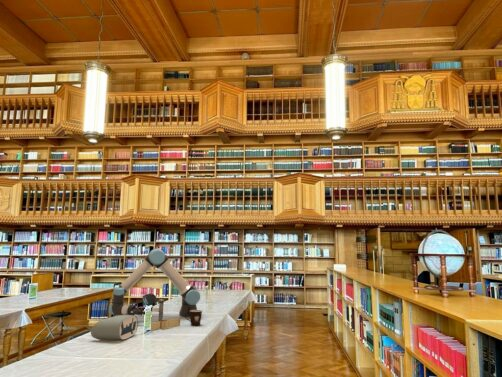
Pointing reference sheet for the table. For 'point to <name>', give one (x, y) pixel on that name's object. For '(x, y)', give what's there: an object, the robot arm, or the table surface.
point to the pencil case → (115, 328)
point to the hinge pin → (161, 309)
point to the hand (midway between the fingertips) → (155, 311)
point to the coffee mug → (195, 317)
